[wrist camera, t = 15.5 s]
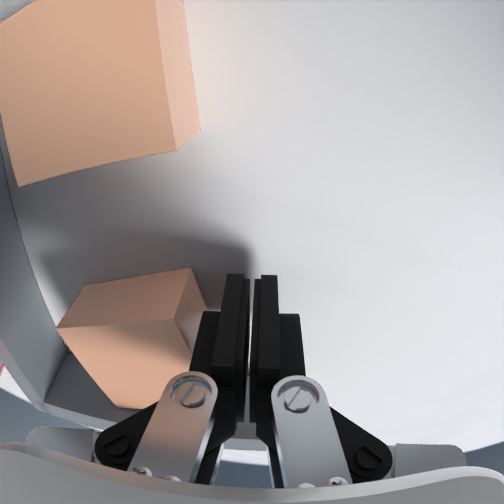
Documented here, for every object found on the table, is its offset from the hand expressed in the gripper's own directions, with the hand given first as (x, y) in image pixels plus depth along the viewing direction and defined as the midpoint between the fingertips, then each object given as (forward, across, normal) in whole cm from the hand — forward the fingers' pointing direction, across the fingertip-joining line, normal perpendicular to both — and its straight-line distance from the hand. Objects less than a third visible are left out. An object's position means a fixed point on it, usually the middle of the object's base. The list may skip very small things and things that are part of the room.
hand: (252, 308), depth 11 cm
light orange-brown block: (+1, +4, -8) cm, 9 cm away
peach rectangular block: (+1, +4, +2) cm, 5 cm away
